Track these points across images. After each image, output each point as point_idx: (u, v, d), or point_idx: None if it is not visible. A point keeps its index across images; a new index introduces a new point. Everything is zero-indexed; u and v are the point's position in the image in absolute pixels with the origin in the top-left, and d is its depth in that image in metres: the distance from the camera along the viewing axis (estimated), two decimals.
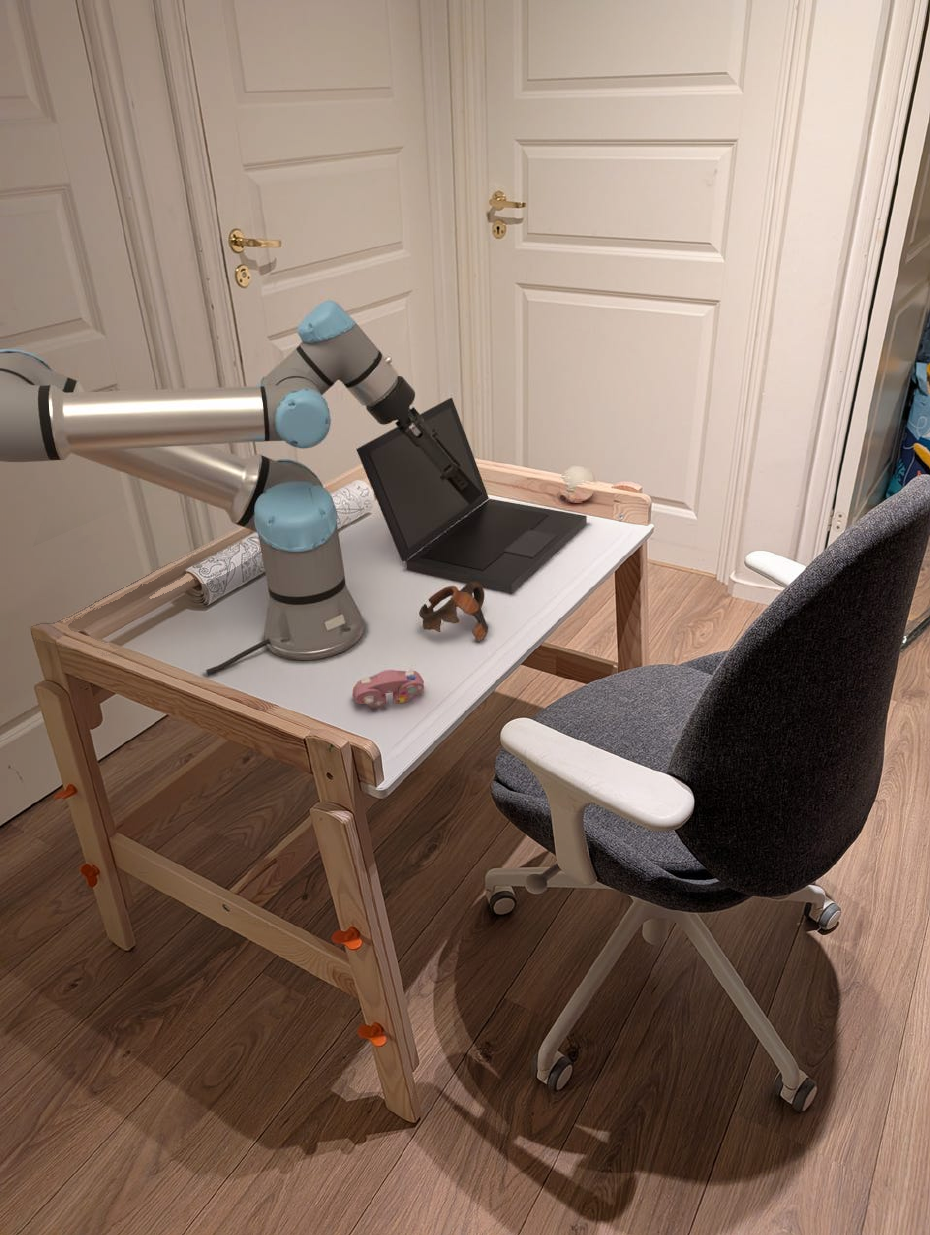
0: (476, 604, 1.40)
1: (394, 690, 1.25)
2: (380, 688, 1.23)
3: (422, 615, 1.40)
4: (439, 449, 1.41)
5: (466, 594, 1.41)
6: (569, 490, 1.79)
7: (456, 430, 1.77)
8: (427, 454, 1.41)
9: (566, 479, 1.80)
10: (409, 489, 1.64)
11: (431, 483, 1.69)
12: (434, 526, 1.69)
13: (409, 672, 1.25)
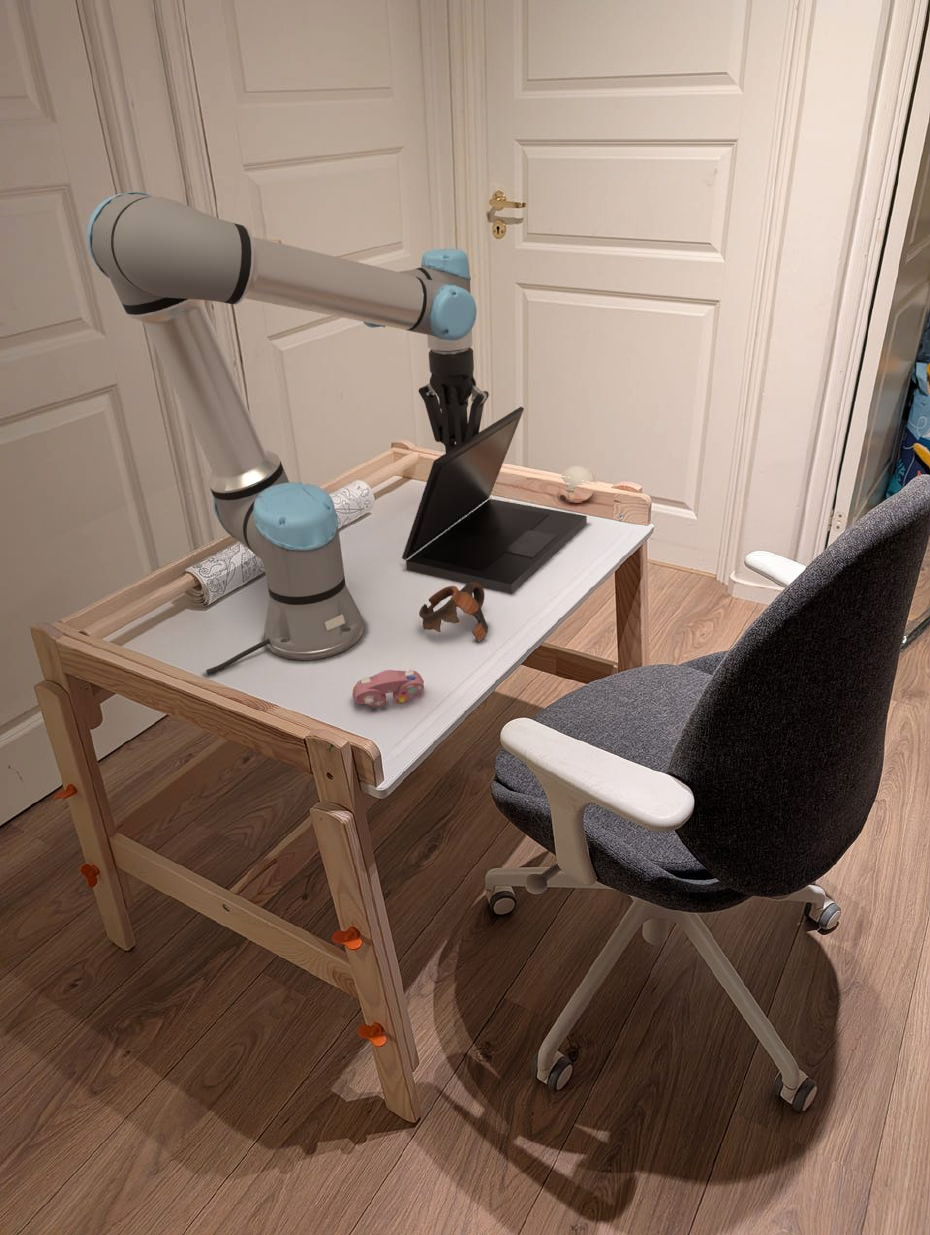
0: (476, 604, 1.40)
1: (394, 690, 1.25)
2: (380, 688, 1.23)
3: (422, 615, 1.40)
4: (479, 422, 1.59)
5: (466, 594, 1.41)
6: (569, 490, 1.79)
7: (507, 439, 1.72)
8: (475, 422, 1.58)
9: (566, 479, 1.80)
10: (446, 497, 1.61)
11: (463, 490, 1.66)
12: (441, 527, 1.68)
13: (409, 672, 1.25)
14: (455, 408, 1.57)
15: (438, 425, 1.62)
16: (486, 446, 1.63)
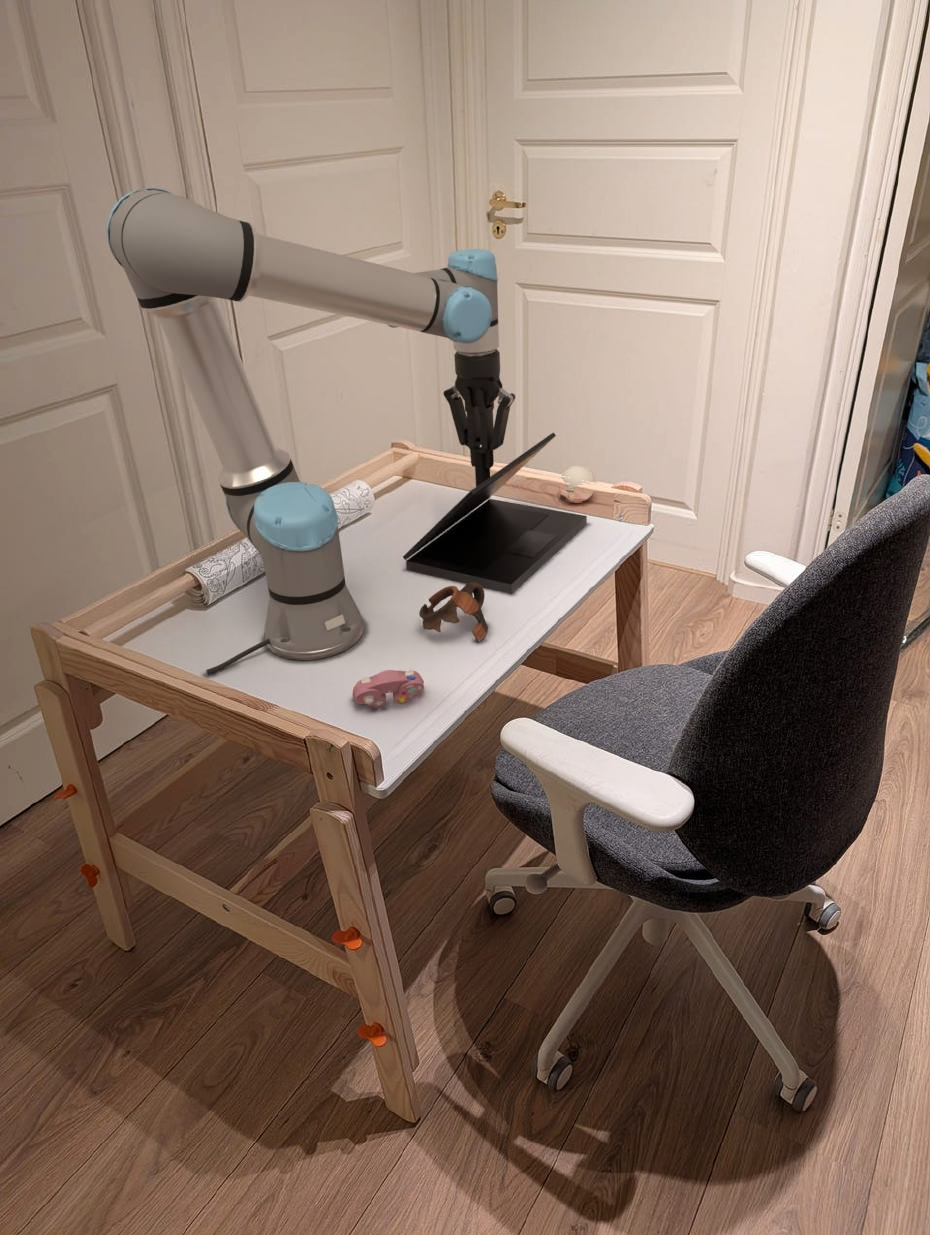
0: (476, 604, 1.40)
1: (394, 690, 1.25)
2: (380, 688, 1.23)
3: (422, 615, 1.40)
4: (506, 425, 1.57)
5: (466, 594, 1.41)
6: (569, 490, 1.79)
7: (530, 459, 1.71)
8: (501, 425, 1.55)
9: (566, 479, 1.80)
10: (462, 511, 1.60)
11: (476, 502, 1.66)
12: (444, 530, 1.68)
13: (409, 672, 1.25)
14: (481, 411, 1.55)
15: (463, 428, 1.60)
16: (513, 469, 1.63)
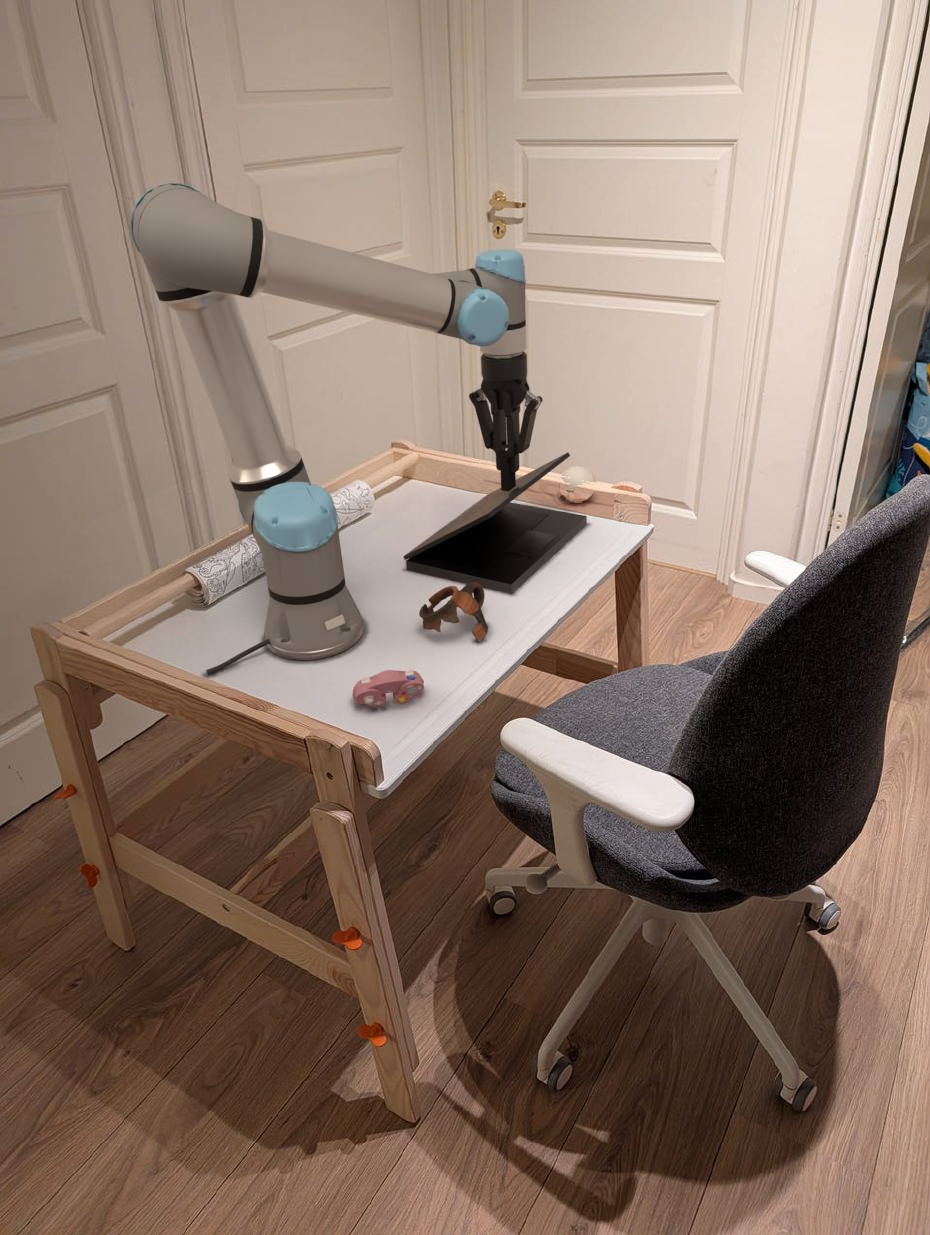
0: (476, 604, 1.40)
1: (394, 690, 1.25)
2: (380, 688, 1.23)
3: (422, 615, 1.40)
4: (532, 428, 1.54)
5: (466, 594, 1.41)
6: (569, 490, 1.79)
7: None
8: (528, 428, 1.53)
9: (566, 479, 1.80)
10: None
11: None
12: None
13: (409, 672, 1.25)
14: (507, 414, 1.53)
15: (489, 431, 1.57)
16: None
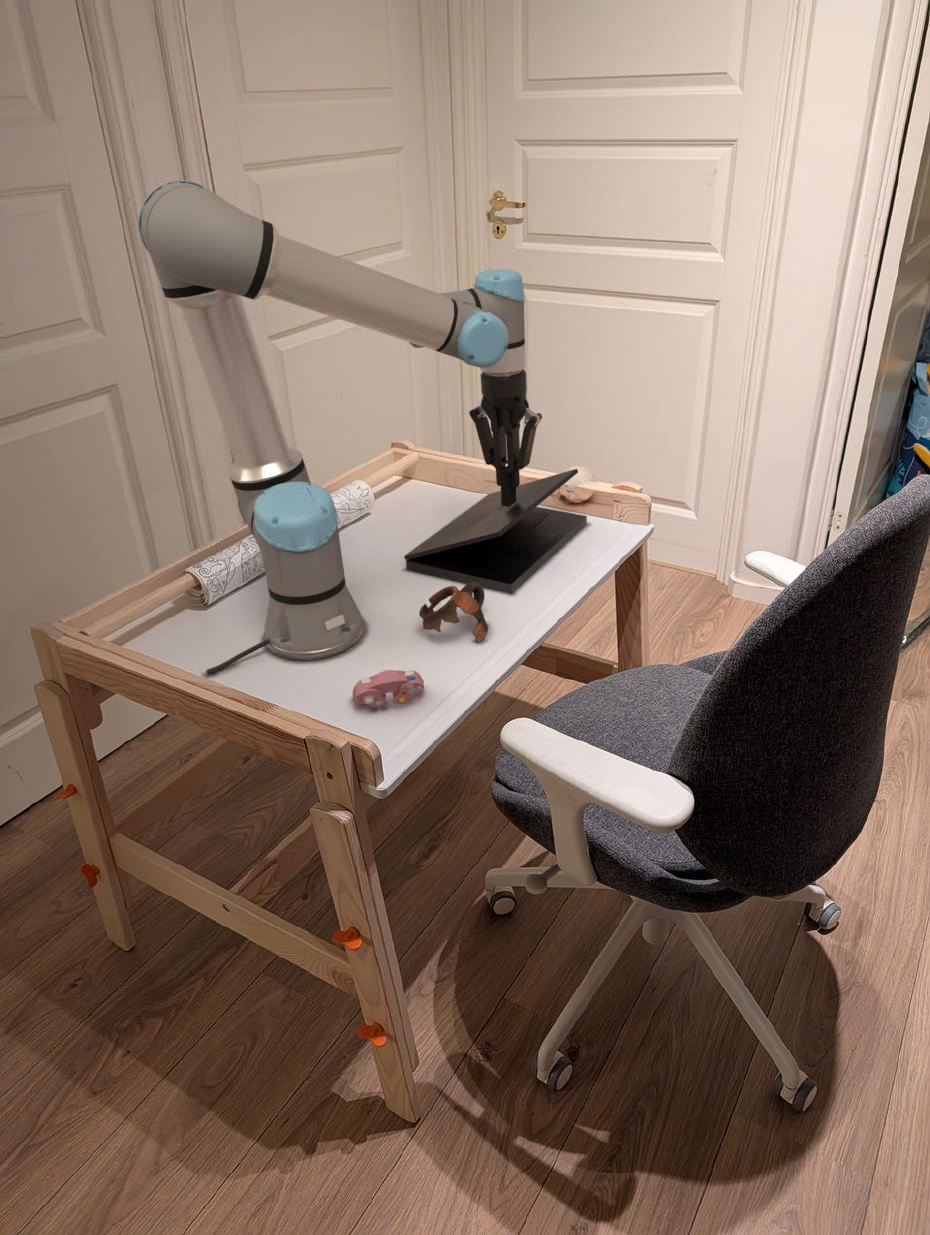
0: (476, 604, 1.40)
1: (394, 690, 1.25)
2: (380, 688, 1.23)
3: (422, 615, 1.40)
4: (532, 445, 1.56)
5: (466, 594, 1.41)
6: (569, 490, 1.79)
7: None
8: (527, 445, 1.54)
9: None
10: None
11: None
12: None
13: (409, 672, 1.25)
14: (507, 431, 1.54)
15: (489, 448, 1.59)
16: None
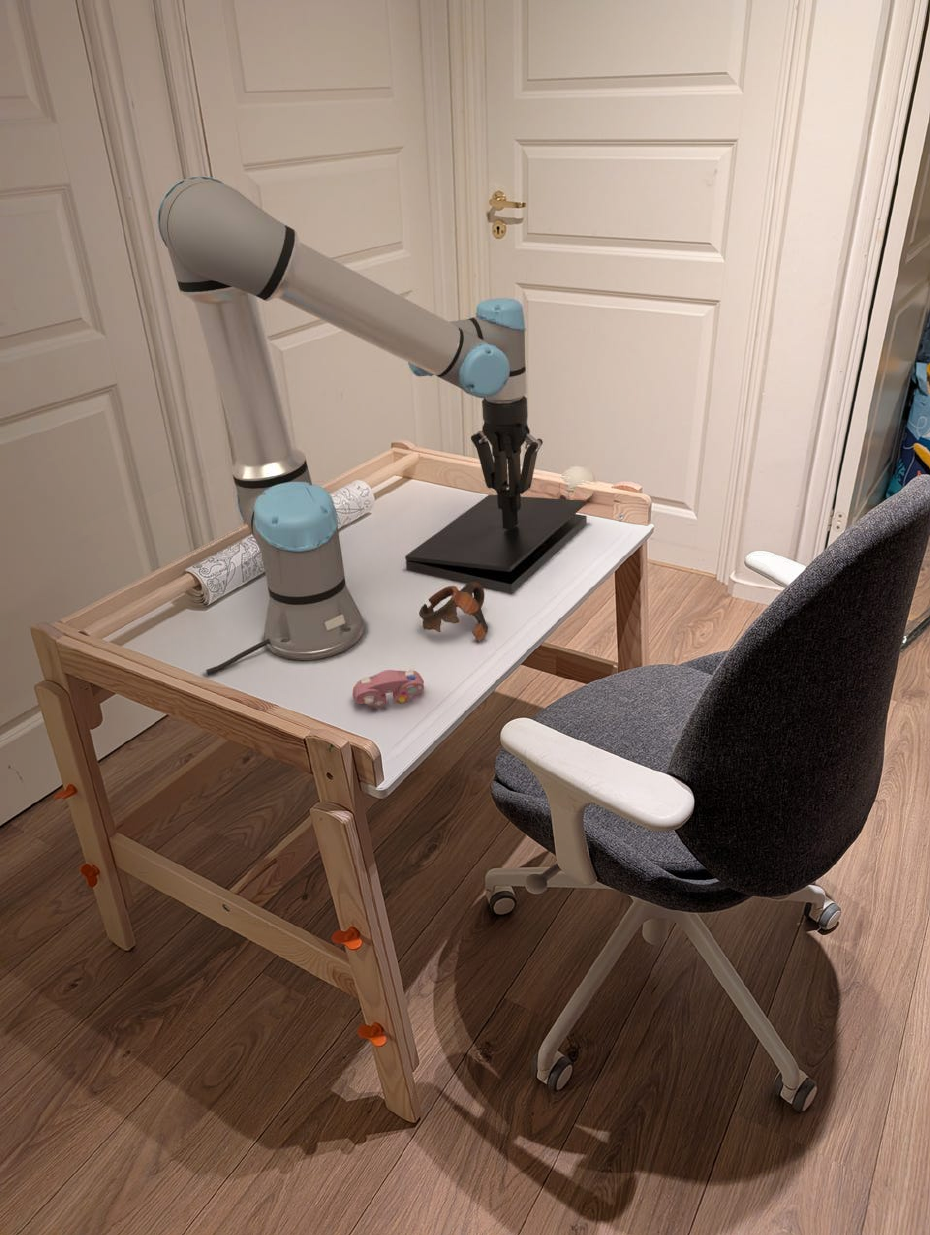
0: (476, 604, 1.40)
1: (394, 690, 1.25)
2: (380, 688, 1.23)
3: (422, 615, 1.40)
4: (533, 469, 1.58)
5: (466, 594, 1.41)
6: (569, 490, 1.79)
7: None
8: (528, 470, 1.56)
9: (566, 479, 1.80)
10: None
11: None
12: None
13: (409, 672, 1.25)
14: (509, 456, 1.56)
15: (490, 472, 1.61)
16: None
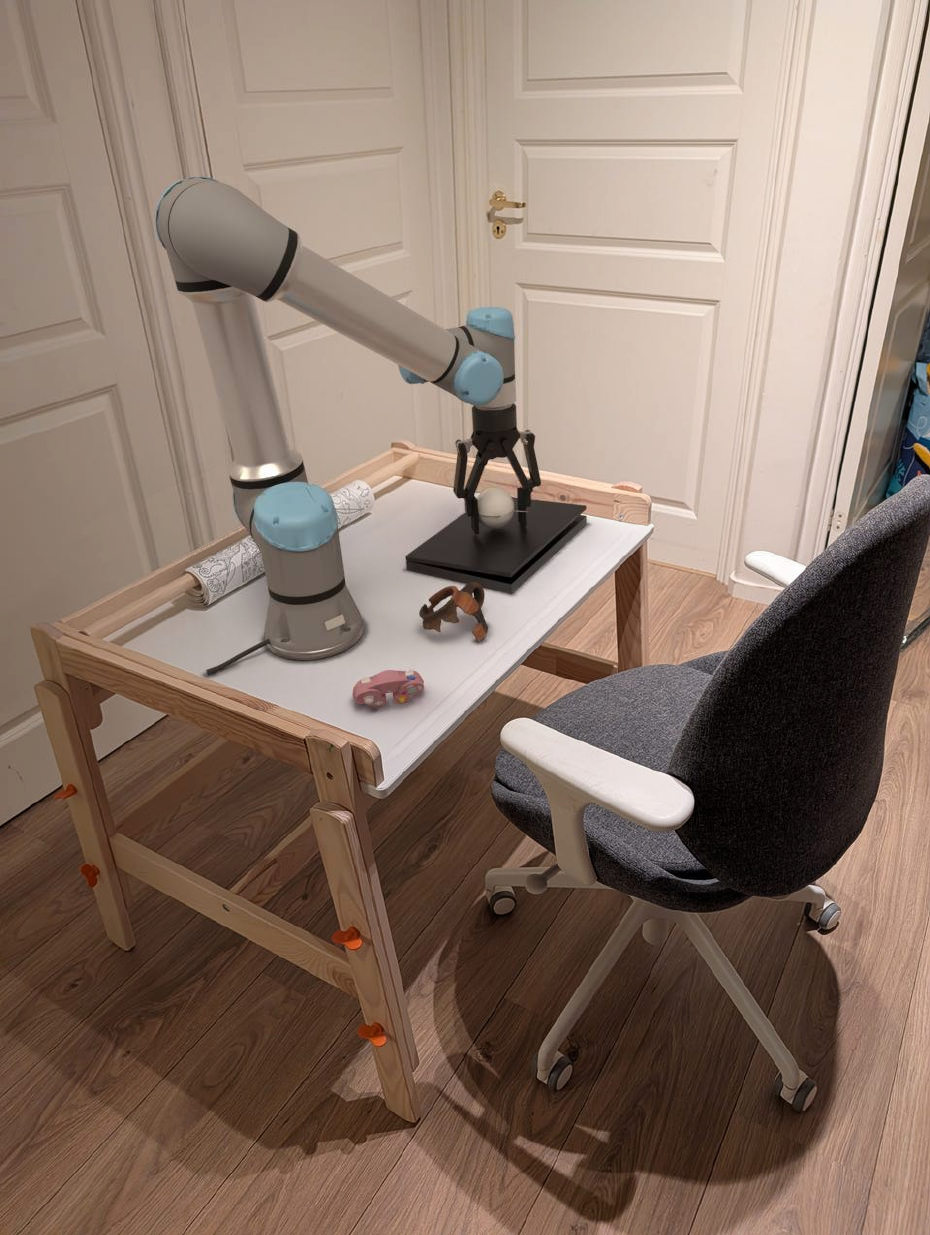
0: (476, 604, 1.40)
1: (394, 690, 1.25)
2: (380, 688, 1.23)
3: (422, 615, 1.40)
4: None
5: (466, 594, 1.41)
6: (484, 515, 1.63)
7: None
8: None
9: (481, 502, 1.63)
10: None
11: None
12: None
13: (409, 672, 1.25)
14: (513, 457, 1.59)
15: None
16: None
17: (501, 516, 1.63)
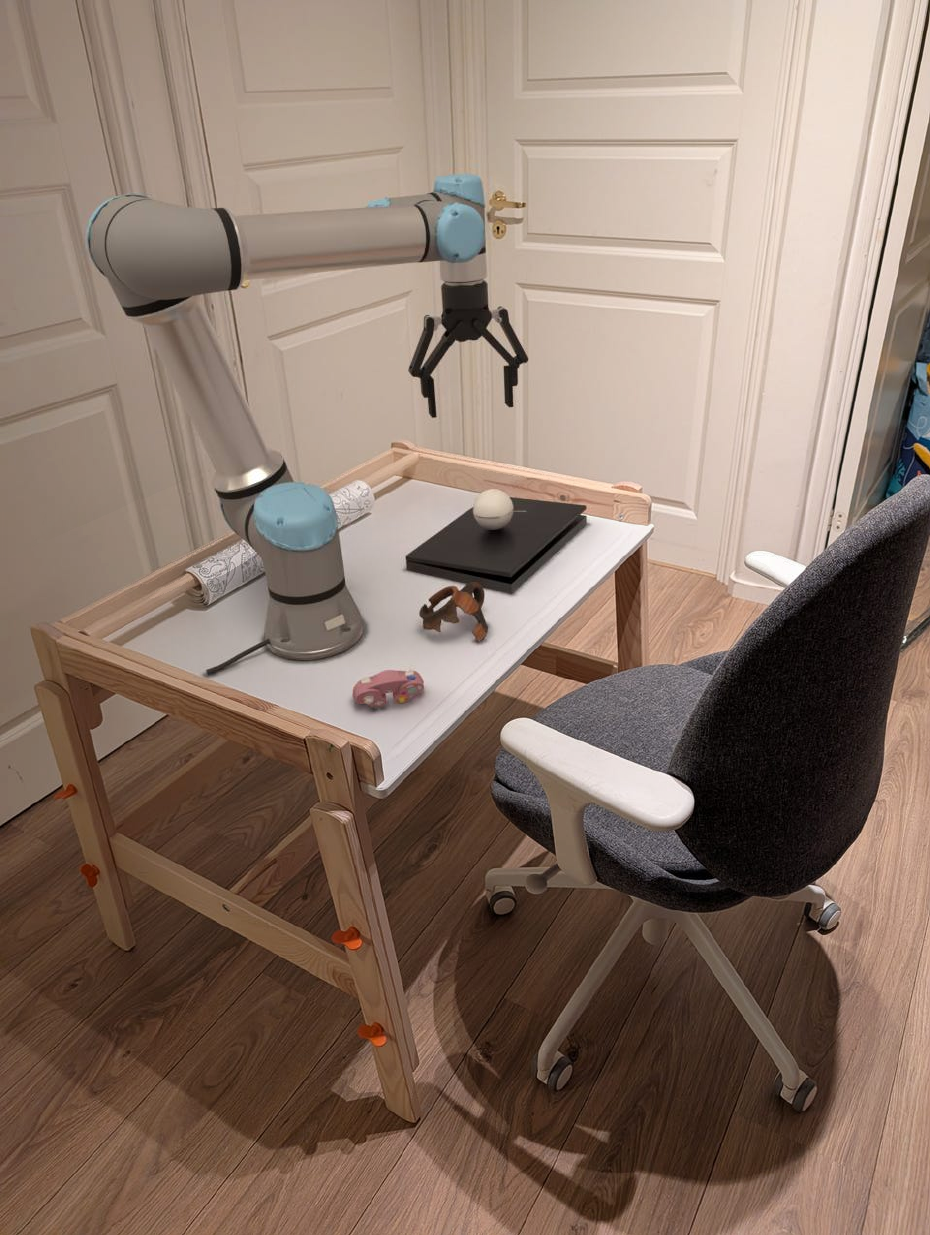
0: (476, 604, 1.40)
1: (394, 690, 1.25)
2: (380, 688, 1.23)
3: (422, 615, 1.40)
4: None
5: (466, 594, 1.41)
6: (483, 516, 1.63)
7: None
8: (516, 336, 1.54)
9: (479, 504, 1.63)
10: None
11: None
12: None
13: (409, 672, 1.25)
14: (489, 336, 1.52)
15: None
16: None
17: (500, 517, 1.63)
